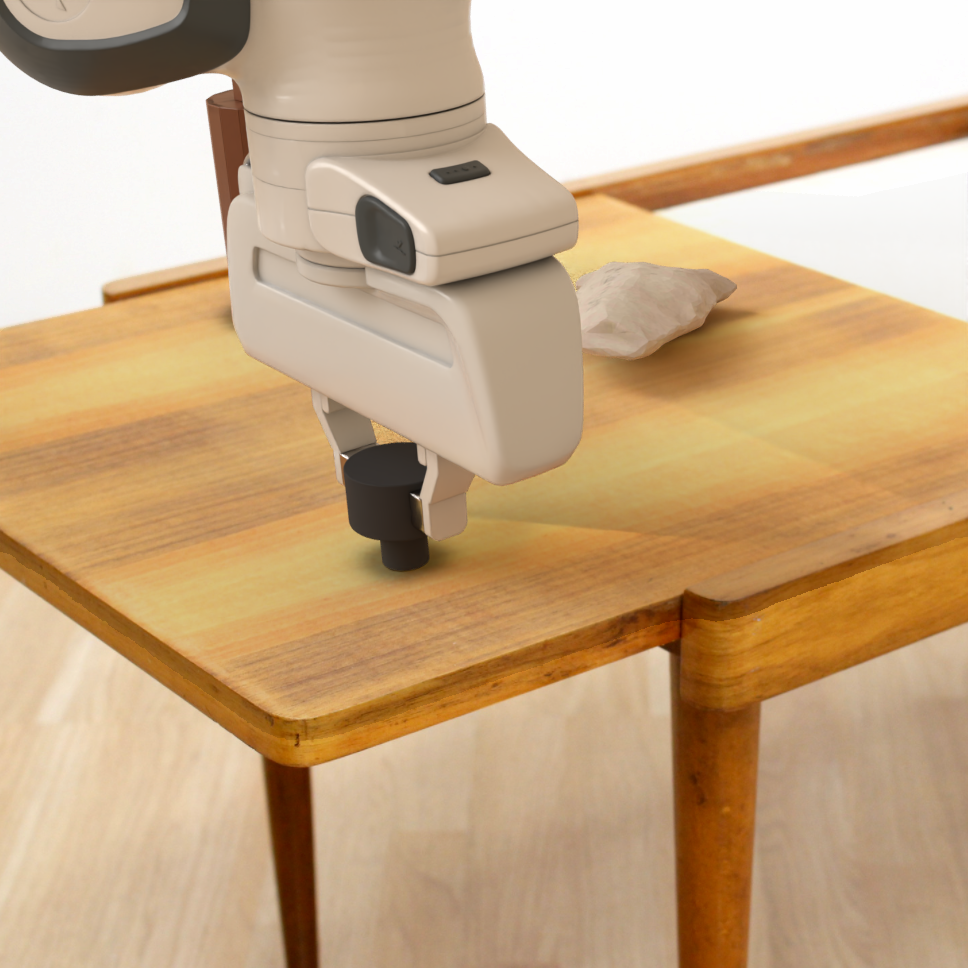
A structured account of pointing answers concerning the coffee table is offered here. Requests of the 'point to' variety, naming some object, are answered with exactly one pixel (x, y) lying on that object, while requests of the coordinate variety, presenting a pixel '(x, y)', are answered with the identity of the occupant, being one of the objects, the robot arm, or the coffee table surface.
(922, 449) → the coffee table surface
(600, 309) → the decorative stone
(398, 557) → the bung
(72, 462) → the coffee table surface
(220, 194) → the bottle
